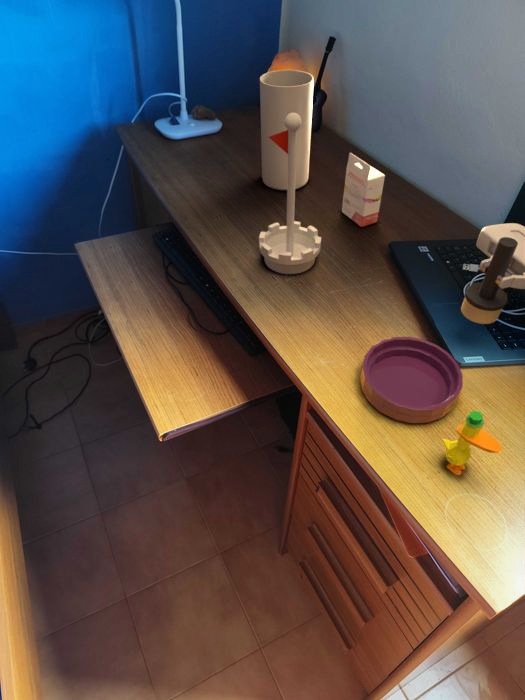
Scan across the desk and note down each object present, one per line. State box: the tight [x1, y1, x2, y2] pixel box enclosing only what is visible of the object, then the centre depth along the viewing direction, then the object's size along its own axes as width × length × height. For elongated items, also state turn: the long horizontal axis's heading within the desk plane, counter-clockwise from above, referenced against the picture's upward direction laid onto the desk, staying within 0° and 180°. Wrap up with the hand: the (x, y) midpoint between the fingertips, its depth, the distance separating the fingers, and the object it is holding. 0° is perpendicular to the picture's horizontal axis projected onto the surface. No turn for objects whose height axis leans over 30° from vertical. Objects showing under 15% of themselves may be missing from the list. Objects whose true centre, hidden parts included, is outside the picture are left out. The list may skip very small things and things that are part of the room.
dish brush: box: [460, 237, 518, 325], centre depth 74 cm, size 6×6×14 cm
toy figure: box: [441, 410, 503, 476], centre depth 61 cm, size 7×4×12 cm, turn 48°
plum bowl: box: [359, 336, 464, 424], centre depth 75 cm, size 15×15×4 cm
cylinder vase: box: [259, 69, 315, 191], centre depth 117 cm, size 12×12×25 cm
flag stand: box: [258, 113, 322, 275], centre depth 90 cm, size 13×13×30 cm
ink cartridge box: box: [341, 152, 386, 228], centre depth 107 cm, size 9×5×15 cm, turn 27°
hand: (490, 274), depth 73 cm, fingers closed on dish brush, 2 cm apart
